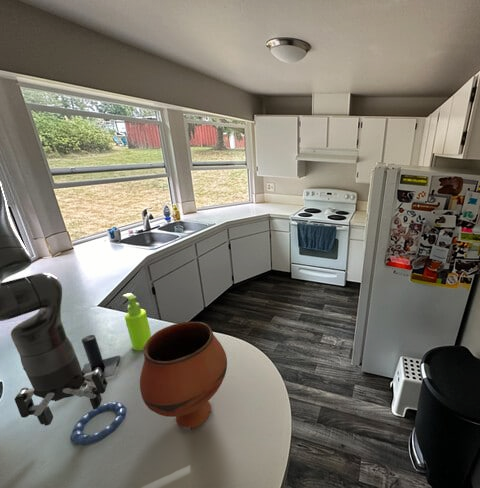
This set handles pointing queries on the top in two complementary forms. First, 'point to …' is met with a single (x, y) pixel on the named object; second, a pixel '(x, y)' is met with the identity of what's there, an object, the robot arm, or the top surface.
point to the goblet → (182, 372)
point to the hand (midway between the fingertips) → (73, 413)
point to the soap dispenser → (137, 323)
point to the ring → (83, 439)
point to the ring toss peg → (97, 358)
